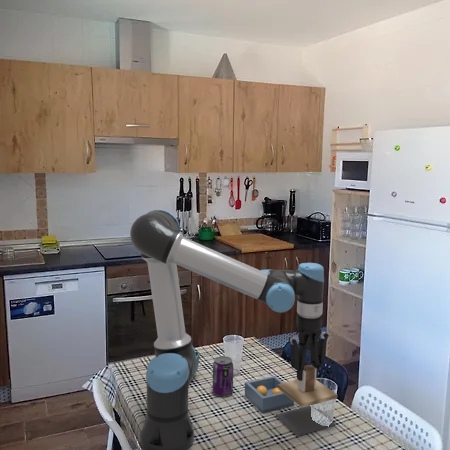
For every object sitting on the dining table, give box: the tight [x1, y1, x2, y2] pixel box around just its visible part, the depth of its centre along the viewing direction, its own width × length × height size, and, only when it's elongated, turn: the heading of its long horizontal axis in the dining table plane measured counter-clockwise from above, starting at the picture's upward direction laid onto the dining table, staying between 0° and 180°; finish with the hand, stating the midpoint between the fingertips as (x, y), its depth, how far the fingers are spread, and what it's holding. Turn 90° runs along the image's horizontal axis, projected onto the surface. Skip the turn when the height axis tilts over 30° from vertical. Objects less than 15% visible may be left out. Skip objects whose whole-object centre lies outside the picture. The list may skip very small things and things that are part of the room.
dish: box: [244, 375, 295, 414], centre depth 151 cm, size 12×12×5 cm
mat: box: [275, 406, 336, 437], centre depth 140 cm, size 14×12×1 cm
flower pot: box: [190, 350, 201, 383], centre depth 165 cm, size 9×9×9 cm
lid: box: [277, 364, 338, 408], centre depth 138 cm, size 13×13×8 cm
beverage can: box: [211, 355, 234, 397], centre depth 155 cm, size 7×7×12 cm
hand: (306, 388), depth 138 cm, fingers closed on lid, 3 cm apart
